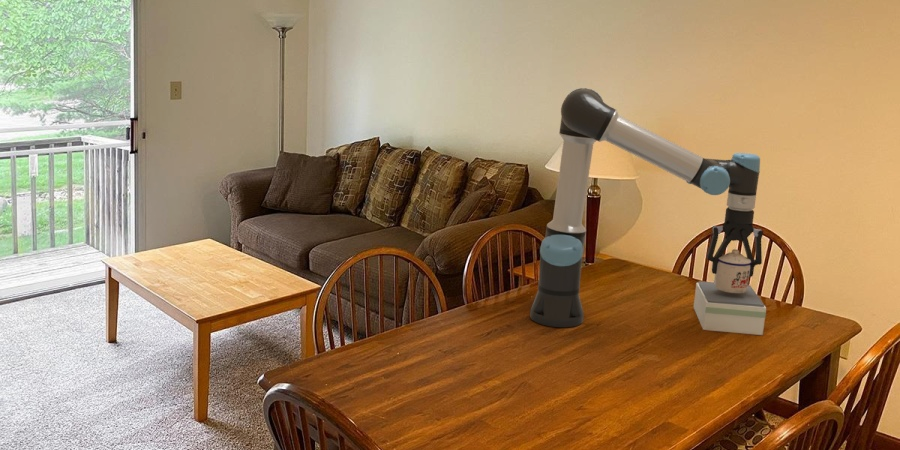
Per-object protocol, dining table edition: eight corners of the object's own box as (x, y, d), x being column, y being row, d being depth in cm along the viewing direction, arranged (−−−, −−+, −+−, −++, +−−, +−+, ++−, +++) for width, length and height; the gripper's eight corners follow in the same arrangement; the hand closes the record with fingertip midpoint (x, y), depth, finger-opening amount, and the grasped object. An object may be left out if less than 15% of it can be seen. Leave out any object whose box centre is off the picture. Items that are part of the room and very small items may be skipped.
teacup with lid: (734, 295, 221) (739, 255, 218) (707, 286, 228) (712, 248, 226) (760, 289, 228) (765, 250, 225) (733, 281, 235) (738, 243, 232)
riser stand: (703, 330, 222) (706, 301, 220) (693, 307, 241) (696, 280, 239) (762, 335, 219) (766, 306, 217) (748, 312, 239) (751, 285, 237)
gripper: (705, 208, 221) (696, 286, 226) (781, 213, 218) (770, 292, 223) (701, 203, 228) (692, 279, 233) (774, 208, 225) (764, 285, 230)
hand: (730, 285), depth 228 cm, fingers closed on teacup with lid, 7 cm apart
